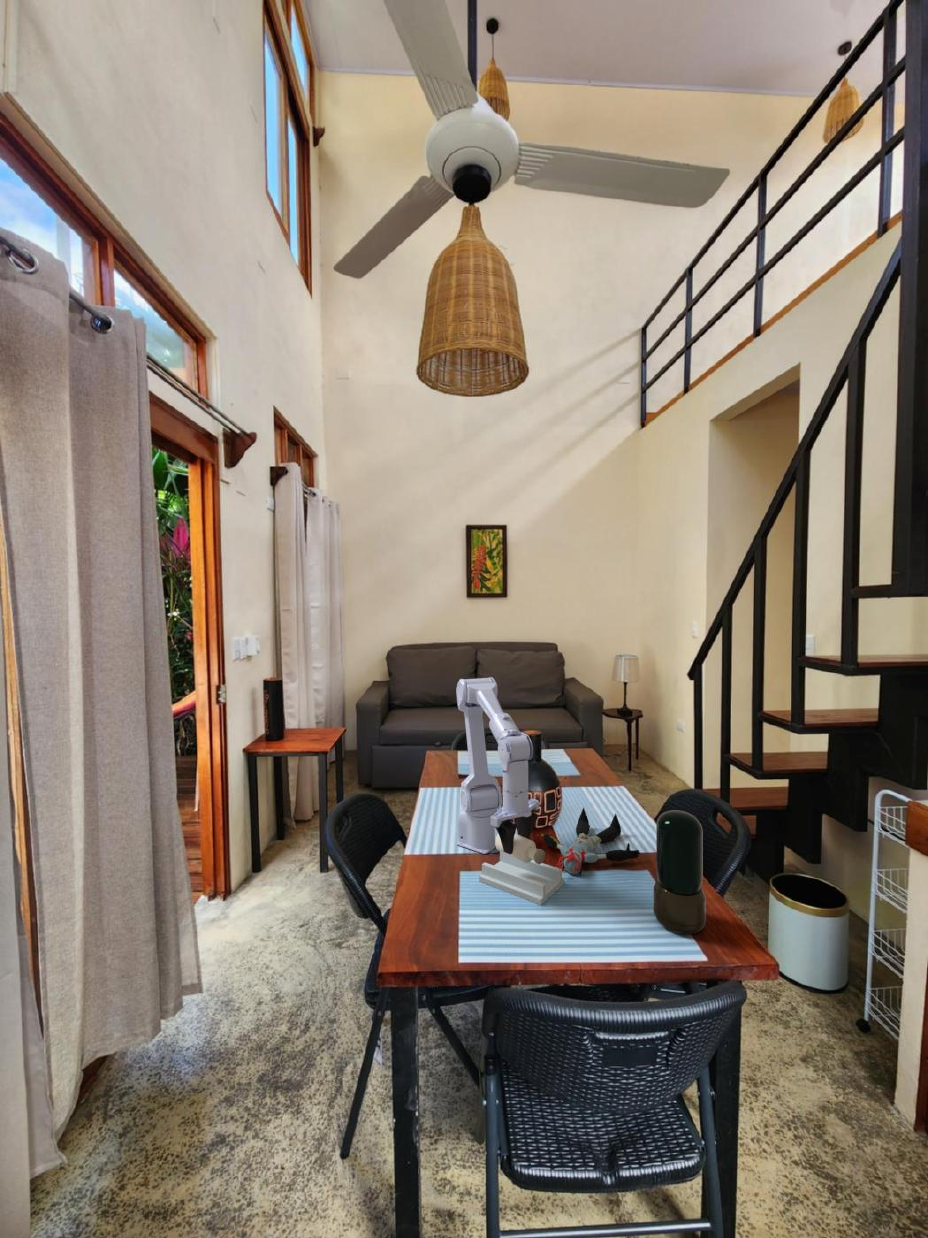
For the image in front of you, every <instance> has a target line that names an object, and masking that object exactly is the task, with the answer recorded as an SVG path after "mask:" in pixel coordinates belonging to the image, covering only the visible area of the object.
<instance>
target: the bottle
mask: <svg viewBox="0 0 928 1238" xmlns="http://www.w3.org/2000/svg"><path fill="white" fill-rule="evenodd" d="M495 839H496V840H495V846H496V847H495V849H496V850H497V851H499V852H500V851H501V852H503V853H505V854H507V855H509V856H512V857H514V858H516V859H518V860H520V861H522V862H524V863H529V862H530V861H531V860H534V861H535V863H537V864H541V863H543V862H544V860H545V858H546V852H545V851H544V850H543V849H541V848H537V847H536V843H535V842H534V841H533V840H531V839H527V838H525V837H522V836H520V835H518V833H515V836H514V844H513V853H512V854H508V853H506V852H504V851H503V846H502V843H501V839H500V836H499V834H498V833H497V834H496V836H495Z"/></svg>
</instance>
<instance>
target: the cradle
mask: <svg viewBox="0 0 928 1238" xmlns="http://www.w3.org/2000/svg"><path fill="white" fill-rule="evenodd" d="M562 869H563V868H560V869H559V867H557V866H552V865H549V864H546V863H543V862H542V863H541V864H537V863H535V861H534V860H531V861H530V862H529V863H524V862H522V861H520V860H518V859H516V858H514V857H512V856H509V855H507V854H505V853H503V852H501V851H499V861H498V862H496V863H495V864H494V865H493V864H491V863H488V862H483V863H482V864H481V874H480V875H479V876H478V882H480V883H482V884H485V885H488V886H490V887H493V888H495V887H496V889H498V888H499V889H498V890H500V889H501V891H503V890H504V891H503V892H505V891H506V892H505V893H508V894H510V895H514V896H516V895H517V896H516V897H518V896H519V898H521V899H523V898H524V900H526V901H528V902H532V903H534V902H535V904H536V903H537V904H536V905H539V904H540V905H539V906H541V904H542V903H543V902H544V903H545V902H546V901H547V900H548V899H549V898H550V897H551V896H553V894H554V893H555V892H556V891H557V890H558V889H559V888H561V887H562V885H564V884H563V883H565V877H564V876H563V872H562ZM557 888H558V889H557ZM550 895H551V896H550ZM549 896H550V897H549ZM548 897H549V898H548ZM546 899H547V900H546ZM544 903H543V904H544ZM543 904H542V905H543Z"/></svg>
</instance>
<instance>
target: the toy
mask: <svg viewBox="0 0 928 1238" xmlns="http://www.w3.org/2000/svg"><path fill="white" fill-rule="evenodd" d="M590 828H591V826H590V822H589V819H588V816H587V813H586V810H585V807H582V810H581V811H580V815H579V817H578V820H577V824H576V827H575V833H576V836H577V840H575V841H574V842H572V844H571V845H570V846H563V845H562V844H561V843H560V841H559V840H558V838H556V837H555V836H554V835H552V834H549V833H545V834H542V833H540V835H541V836H542V840H543V841H544V843H545V844H546V845H547V846H549V847H550V848H552V849H558V850H560V854H561V856H562V857H559V860H558V862H557V865H556V868H559V869H562V873H563V872H564V870H565V871H566V872H568V873H569V874H571V875H574V876H576V875H577V874H579V873H580V875H579V876H580V877H581V876H582V873H583V868H584V864H585V863H595V862H597V861H598V860H599V859H600V860H601V859H606V860H608V861H610V862H616V863H617V862H623V861H624V862H625V861H627V860H629V859H636V860H637V859H638V858H640V854H641V852H640V850H639V849H633V850H631V844H630V843H629V842H628V843H626V849H613V850H611V849H610V850H607V851H606V852H605V853H600V854H597V853H595V852H593V851H594V850H595V846H597V845H599V844H600V845H601V844H602V845H603V844H608V843H613V842H614V841H615V840H617V838H618V837H620V836H621V834H622V826H621V825H620V821H619V818H618V816H617V813H616V812H615V813H614V816H613V818H612V820H611V822H610V825H609V826H608V827H606V828H605V829H603V830H602V831H600V832H599V833H597V834H595V835H592V836H590V835H589V832H590ZM561 861H562V862H563V863H561Z"/></svg>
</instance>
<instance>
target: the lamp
mask: <svg viewBox="0 0 928 1238" xmlns="http://www.w3.org/2000/svg"><path fill="white" fill-rule="evenodd" d="M703 833H704V832H703V827H702V824H701V823H700V821H699V820H698V819H697V817H696V816H694V815H693V814H691V813H689V812H687V811H683V810H678V809H677V810H676V809H675V810H674V809H671V810H667V811H665V812H662V813H661V814H660V815H659V817H658V818H657V820H656V834H655V835H656V841H655V842H656V844H655V845H656V846H655V847H656V850H655V851H656V864H655V865H656V877H657V879H656V881H655V882H654V885H653V914H654V916H655V919H656V920H657V922H658V923H659V924H660V925H661V926H662V927H665V929H668V931H672V932H675V933H678V934H683V935H691V934H693V935H694V934H696V933H699V932H700V931H702V930H703V929H704V928H705V926H706V921H707V896H706V894H705V891H704V889H703V887H702V884H703V879H704V877H703V876H704V875H703V874H704V872H703V871H704V868H703V866H704V865H703V863H704V862H703V860H704V859H703V858H704V857H703V855H704V854H703V853H704V852H703V851H704V847H703V844H704V843H703V842H704V841H703V839H704V838H703V837H704V835H703Z"/></svg>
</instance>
